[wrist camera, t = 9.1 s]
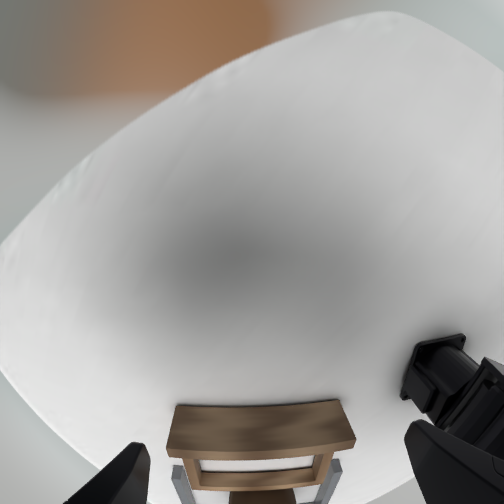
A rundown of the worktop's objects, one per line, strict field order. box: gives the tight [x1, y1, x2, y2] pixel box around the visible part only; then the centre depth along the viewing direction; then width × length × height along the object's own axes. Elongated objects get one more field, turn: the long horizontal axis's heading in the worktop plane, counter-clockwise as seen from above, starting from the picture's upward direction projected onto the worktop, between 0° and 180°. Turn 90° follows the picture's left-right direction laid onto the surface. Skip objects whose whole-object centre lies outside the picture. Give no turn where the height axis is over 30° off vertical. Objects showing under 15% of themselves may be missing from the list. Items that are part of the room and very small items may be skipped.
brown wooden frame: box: [166, 400, 356, 491], centre depth 21 cm, size 14×12×5 cm
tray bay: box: [171, 459, 343, 504], centre depth 25 cm, size 18×12×2 cm
